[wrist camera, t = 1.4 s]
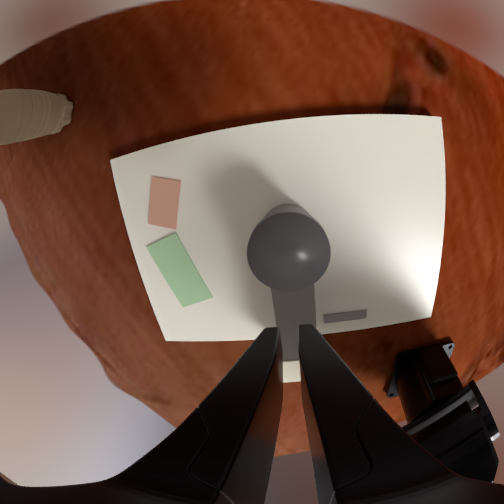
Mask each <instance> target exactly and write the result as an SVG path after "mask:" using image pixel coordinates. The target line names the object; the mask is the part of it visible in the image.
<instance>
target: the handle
mask: <svg viewBox="0 0 504 504" xmlns="http://www.w3.org/2000/svg"><path fill="white" fill-rule="evenodd" d="M72 109H73V103H72V102H70V101H68V100H67V98H66V96H65V95H63V94H59V93H51V92H47V91H41V90H33V89H6V90H0V145H6V144H11V143H16V142H21V141H26V140H30V139H34V138H38V137H42V136H45V135H51V134H55V133H58V132H60V131H61V130H62V128H63V127H64V126H65V125H68V124H69V123H70V121H71V119H72V118H71V112H72Z"/></svg>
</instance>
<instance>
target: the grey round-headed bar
mask: <svg viewBox="0 0 504 504" xmlns="http://www.w3.org/2000/svg"><path fill="white" fill-rule="evenodd" d="M330 257H331V248H330V243H329V240H328V237H327V235H326V233H325V231H324V229H323V227H322V226H321V224H320V223H319V222H318V221H317V220H316V219H315V218H313V217H312V216H310V214H309V213H308V212H307V211H306V210H305V209H303V208H302V207H300V206H297V205H294V204H282V205H278V206H276V207H274V208H273V209H271V210H270V211H269V212H268V213H267V214H266V216H265V217H264V218H263V219H262V220H261V221H260V222H259V223H258V224H257V225H256V226H255V228H254V229H253V231H252V233H251V236H250V239H249V242H248V246H247V260H248V264H249V267H250V269H251V271H252V273H253V274H254V275H255V277H256V278H257V279H258V280H259V281H260V282H262V283H263V284H264V285H266V286H268V287H270V288H271V293H272V300H273V307H274V314H275V321H276V327H279V329H280V334H281V342H282V350H283V382H298V381H301V377H300V363H299V351H298V326H299V325H303V324H313V325H314V326H315V327H316V307H315V288H314V283H316V282H317V281H318V280H319V279H320V278H321V277H322V276H323V275H324V273H325V272H326V270H327V268H328V265H329V262H330Z"/></svg>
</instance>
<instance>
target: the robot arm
mask: <svg viewBox="0 0 504 504" xmlns="http://www.w3.org/2000/svg"><path fill="white" fill-rule="evenodd" d="M454 345H455V344H454V343H453V341H447V342H443V343H439V344H436V345H432V346H428V347H423V348H419V349H415V350H410V351H406V352H401V353H399V354H398V355H397V356H396V358H395V363H394V367H393V371H392V374H391V378H390V382H389V385H388V389H387V392H386V395H387V397H388V398H391V397H396V396H399V397H400V400H401V404H402V407H403V410H404V413H405V417H406V420H407V425H405V426H404V427H402V428H401V427H400V426H399V425H398V424H397V423H396V422H395V421H394V420H393V419H392V418H391V417H390V416H389V414H388V413H387V412H386V411H385V410H384V409H383V408H382V407H381V405H380V404H379V403H378V402H377V400H376V399H373V396H372V395H371V393H370V392H369V391H368V390H367V389H366V387H365V386H364V385H363V384H362V383H361V381H360V380H359V379H358V378H357V377H356V375H355V374H354V373H353V372H352V371H351V369H350V368H349V367H348V366H347V365H346V363H345V362H344V361H343V360H342V359H341V357H340V356H339V355H338V354H337V353H336V351H335V350H334V349H333V348H332V347H331V345H330V344H329V343H328V342H327V341H326V339H325V338H324V337H323V336H322V335H321V333H320V332H319V331H318V330H317V329H316V327H315V326H314V325H313V324H303V325H299V326H298V351H299V363H300V377H301V391H302V402H303V408H304V414H305V420H306V426H307V432H308V439H309V445H310V451H311V458H312V463H313V470H314V477H315V484H316V491H317V498H318V504H504V485H502V484H496V483H493V481H494V478H495V474H496V471H497V467H498V462H499V461H498V457H497V454H496V451H495V449H494V446H493V443H492V442H494V441H495V440H496V439H498V438H499V437H500V434H499V431H498V429H497V426H496V424H495V421H494V419H493V417H492V414H491V412H490V410H489V408H488V406H487V404H486V402H485V400H484V398H483V397H482V395H481V393H480V391H479V389H478V387H477V386H476V384H475V382H474V380H472V381H470V382H469V383H468V385H467V386H465V387H464V388H463V386H462V384H461V382H460V380H459V378H458V376H457V375H458V373H457V371H456V369H455V367H454V365H453V364H452V362H451V360H450V356H451V354H452V351H453V348H454ZM401 357H402V358H401ZM282 401H283V350H282V342H281V334H280V329H279V327H267V328H264V329H263V330H262V332H261V333H260V334H259V335H258V337H257V338H256V339H255V340H254V342H253V343H252V344H251V345H250V346H249V348H248V349H247V350H246V351H245V352H244V354H243V355H242V356H241V357H240V358H239V360H238V361H237V362H236V363H235V364H234V366H233V367H232V368H231V369H230V370H229V372H228V373H227V374H226V375H225V376H224V377H223V379H222V380H221V381H220V382H219V383H218V384H217V385H216V387H215V388H214V389H213V390H212V391H211V392H210V393H209V395H208V396H207V397H206V398H205V399H204V400H203V401H202V402H201V403H200V405H199V406H198V407H199V408H196V409H195V410H194V411H193V412H192V413H191V414H190V415H189V416H188V418H187V419H186V420H185V421H184V422H183V423H182V424H181V425H180V426H179V427H178V428H177V429H176V430H175V431H173V432H172V433H171V434H170V435H169V436H168V437H167V438H165V439H164V440H163V441H162V442H161V443H160V444H158V445H157V446H156V447H155V448H153V449H152V450H151V451H150V452H148V453H147V454H146V455H144V456H143V457H142V458H140V459H139V460H138V461H136V462H135V463H134V464H132V465H131V466H130V467H128V468H127V469H126V470H124V471H123V472H121V473H120V474H118V475H116V476H114V477H112V478H109V479H107V480H103V481H100V482H93V483H86V484H78V485H67V486H53V487H25V486H19V485H17V484H15V483H14V482H13V481H11V480H10V479H9V478H7V477H6V476H5V475H3V474H2V473H0V504H264V502H265V497H266V493H267V488H268V483H269V477H270V473H271V468H272V462H273V457H274V451H275V446H276V440H277V434H278V428H279V422H280V415H281V409H282ZM477 405H479V406H478V407H477V408H475V409H473V408H474V407H476V406H477ZM472 409H473V410H472Z"/></svg>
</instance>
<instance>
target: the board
mask: <svg viewBox="0 0 504 504" xmlns="http://www.w3.org/2000/svg"><path fill="white" fill-rule="evenodd" d="M110 162H111V167H112V172H113V176H114V181H115V185H116V190H117V194H118V198H119V202H120V206H121V210H122V214H123V218H124V221H125V225H126V229H127V232H128V236H129V239H130V243H131V246H132V249H133V252H134V256H135V259H136V262H137V265H138V268H139V271H140V274H141V277H142V280H143V283H144V286H145V288H146V291H147V294H148V297H149V299H150V302H151V305H152V307H153V310H154V313H155V315H156V318H157V320H158V323H159V325H160V328H161V330H162V333H163V335H164V337H165V340H166V341H235V340H255V339H256V338H257V337H258V335H259V334H260V333H261V332H262V330H263V329H264V328H267V327H276V321H275V314H274V307H273V300H272V293H271V288H270V287H268V286H266V285H264V284H263V283H262V282H260V281H259V280H258V279H257V278H256V277H255V275H254V274H253V273H252V271H251V269H250V267H249V264H248V260H247V246H248V242H249V239H250V236H251V233H252V231H253V229H254V228H255V226H256V225H257V224H258V223H259V222H260V221H261V220H262V219H263V218H264V217H265V216H266V214H267V213H268V212H269V211H270V210H271V209H273V208H274V207H276V206H278V205H282V204H294V205H297V206H300V207H302V208H303V209H305V210H306V211H307V212H308V213H309V214H310V216H312V217H313V218H315V219H316V220H317V221H318V222H319V223H320V224H321V226H322V227H323V229H324V231H325V233H326V235H327V237H328V240H329V243H330V248H331V257H330V262H329V265H328V268H327V270H326V272H325V273H324V275H323V276H322V277H321V278H320V279H319V280H318V281H317V282H316V283H314V288H315V307H316V329H317V330H318V331H319V332H320V333H321V334H329V333H338V332H346V331H353V330H360V329H367V328H374V327H380V326H386V325H392V324H397V323H403V322H408V321H413V320H418V319H423V318H428V317H431V314H432V309H433V304H434V299H435V294H436V289H437V283H438V277H439V270H440V263H441V255H442V245H443V235H444V220H445V155H444V141H443V131H442V122H441V117H435V116H421V115H401V114H354V115H332V116H317V117H306V118H296V119H287V120H278V121H271V122H264V123H257V124H251V125H245V126H239V127H233V128H228V129H223V130H218V131H213V132H208V133H204V134H199V135H195V136H190V137H186V138H182V139H178V140H174V141H171V142H167V143H163V144H159V145H156V146H152V147H149V148H146V149H142V150H139V151H136V152H133V153H129V154H126V155H123V156H120V157H117V158H114V159H112V160H110Z"/></svg>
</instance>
